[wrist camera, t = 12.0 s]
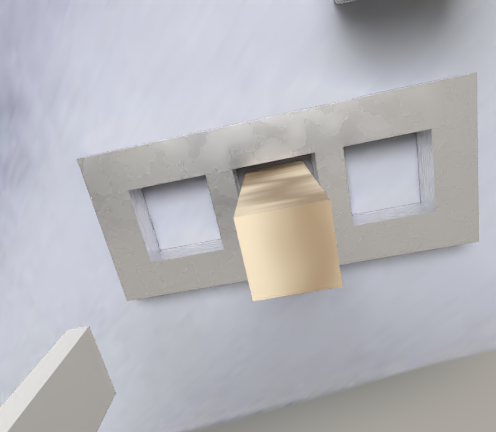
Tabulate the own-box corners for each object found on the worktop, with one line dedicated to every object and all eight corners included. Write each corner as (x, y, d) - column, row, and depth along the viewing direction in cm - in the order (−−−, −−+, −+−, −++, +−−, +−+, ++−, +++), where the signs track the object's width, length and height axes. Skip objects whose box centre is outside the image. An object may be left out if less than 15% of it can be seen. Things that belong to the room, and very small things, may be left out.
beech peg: (256, 224, 29) (252, 301, 17) (245, 171, 27) (233, 217, 16) (310, 214, 28) (342, 286, 17) (301, 160, 27) (330, 199, 16)
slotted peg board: (137, 286, 31) (126, 302, 28) (92, 154, 28) (75, 159, 25) (460, 230, 28) (480, 242, 26) (456, 75, 25) (478, 72, 22)
